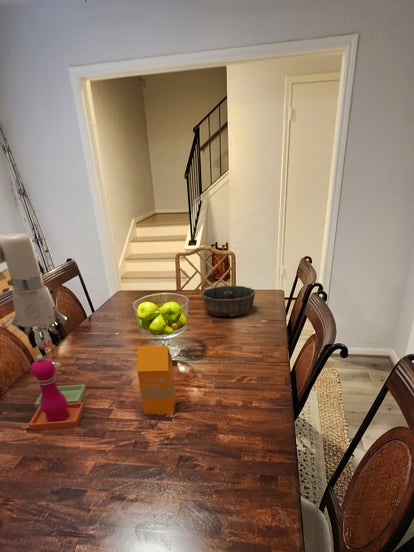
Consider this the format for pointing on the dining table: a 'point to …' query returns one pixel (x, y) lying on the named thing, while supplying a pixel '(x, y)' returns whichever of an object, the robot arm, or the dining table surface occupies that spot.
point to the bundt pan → (228, 300)
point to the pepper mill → (49, 390)
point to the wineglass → (44, 340)
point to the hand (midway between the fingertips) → (46, 344)
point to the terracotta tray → (73, 420)
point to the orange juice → (156, 379)
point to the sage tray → (68, 394)
